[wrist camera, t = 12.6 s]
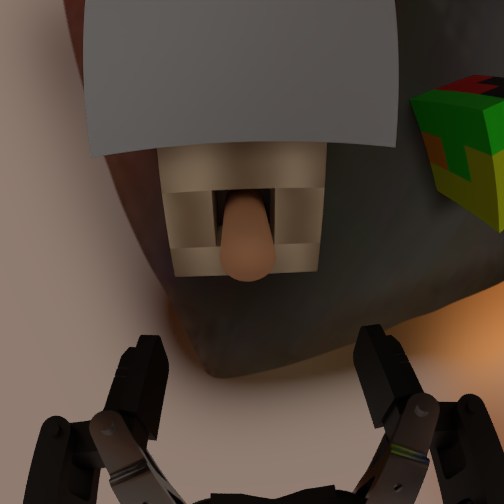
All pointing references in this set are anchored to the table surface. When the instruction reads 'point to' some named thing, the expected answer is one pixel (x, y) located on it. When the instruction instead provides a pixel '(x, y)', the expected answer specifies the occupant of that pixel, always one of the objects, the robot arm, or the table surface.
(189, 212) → the socket block
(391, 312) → the table surface
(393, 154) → the table surface
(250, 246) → the peg
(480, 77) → the puzzle toy
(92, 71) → the grey small table
